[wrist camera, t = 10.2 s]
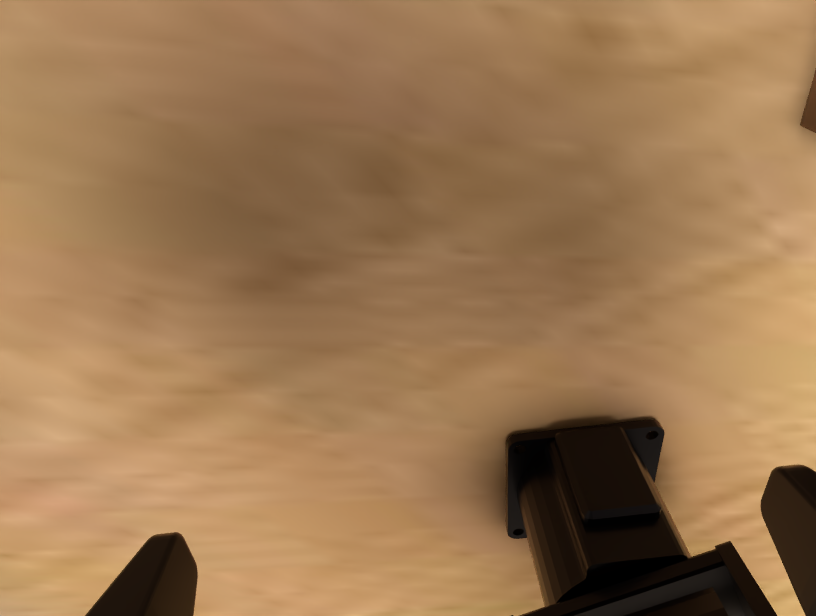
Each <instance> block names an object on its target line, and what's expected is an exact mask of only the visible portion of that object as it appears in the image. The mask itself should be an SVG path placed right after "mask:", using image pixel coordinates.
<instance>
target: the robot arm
mask: <svg viewBox="0 0 816 616" xmlns="http://www.w3.org/2000/svg"><path fill="white" fill-rule="evenodd" d="M650 431H651V432H650ZM663 438H664V430H663V428H662V426H661V425H660V423H659V422H658V421H656V420H642V421H633V422H624V423H614V424H605V425H596V426H587V427H577V428H568V429H559V430H550V431H541V432H531V433H522V434H516V435H513V436H511V437H509V439H508V440H507V442H506V528H507V532H508V536H509V537H511V538H514V539H520V538H527V539H528V543H529V546H530V550H531V554H532V558H533V562H534V566H535V570H536V574H537V578H538V581H539V585H540V589H541V593H542V597H543V601H544V605H545V607H543V608H540V609H537V610H535V611H532V612H529V613H526V614H523V615H520V616H777V614H776V613H775V611H774V610H773V608H772V606H771V605H770V603H769V602H768V600H767V598H766V597H765V595H764V594H763V592H762V591H761V589H760V587H759V586H758V584H757V583H756V581H755V579H754V578H753V576H752V575H751V573H750V571H749V570H748V568H747V567H746V565H745V564H744V562H743V560H742V559H741V557H740V556H739V554H738V552H737V551H736V549H735V548H734V546H733V545H732V543H731V541H728V542H725V543H722V544H719V545H717V546H715V548H716V549H714V550H711V551H708V552H705V553H702V554H699V555H696V556H693V557H691V555H690V553H689V551H688V549H687V547H686V545H685V543H684V541H683V539H682V537H681V535H680V533H679V531H678V529H677V527H676V525H675V523H674V521H673V519H672V517H671V515H670V513H669V511H668V509H667V507H666V505H665V504H664V502H663V500H662V498H661V496H660V494H659V492H658V490H657V488H656V486H655V484H654V481H655V477H656V472H657V467H658V462H659V457H660V452H661V447H662V442H663ZM519 445H521V446H519ZM516 446H519V447H516ZM761 512H762V516H763V519H764V521H765V523H766V526H767V528H768V530H769V533H770V535H771V537H772V540H773V542H774V544H775V547H776V549H777V551H778V553H779V556H780V558H781V560H782V563H783V565H784V567H785V570H786V572H787V574H788V577H789V579H790V581H791V584H792V586H793V588H794V590H795V593H796V595H797V597H798V600H799V602H800V604H801V606H802V608H803V610H804V613H805V615H806V616H816V472H815V471H814V470H812V469H810V468H809V467H806V466H804V465H789V466H780V467H776V468H775V469H773V470H772V472H771V474H770V477H769V480H768V482H767V485H766V488H765V491H764V494H763V496H762V499H761ZM197 577H198V572H197V565H196V562H195V560H194V558H193V556H192V554H191V552H190V550H189V548H188V546H187V543H186V541H185V539H184V537H183V536H182V535H181V534H180V533H177V532H174V533H165V534H157V535H154V536H152V537H151V538H149V539H148V540H147V541H146V543H145V544H144V545H143V546H142V547H141V549H140V550H139V551H138V552H137V553H136V555H135V556H134V557H133V558H132V560H131V561H130V562H129V563H128V564H127V566H126V567H125V568H124V569H123V570H122V572H121V573H120V574H119V575H118V576H117V578H116V579H115V580H114V581H113V583H112V584H111V585H110V586H109V587H108V589H107V590H106V591H105V592H104V593H103V595H102V596H101V597H100V598H99V599H98V601H97V602H96V603H95V604H94V605H93V607H92V608H91V609H90V610H89V612H88V613H87V614H86V615H85V616H193V614H194V605H195V596H196V587H197ZM511 616H513V615H511Z"/></svg>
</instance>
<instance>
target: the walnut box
mask: <svg viewBox="0 0 816 616" xmlns="http://www.w3.org/2000/svg"><path fill="white" fill-rule="evenodd" d="M800 125H801V126H803V127H805V128H807V129H809V130H811V131H813V132H815V133H816V70H815V74H814V78H813V81H812V85H811V88H810V92H809V95H808V99H807V102H806V106H805V109H804V113H803V117H802V120H801V124H800Z"/></svg>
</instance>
